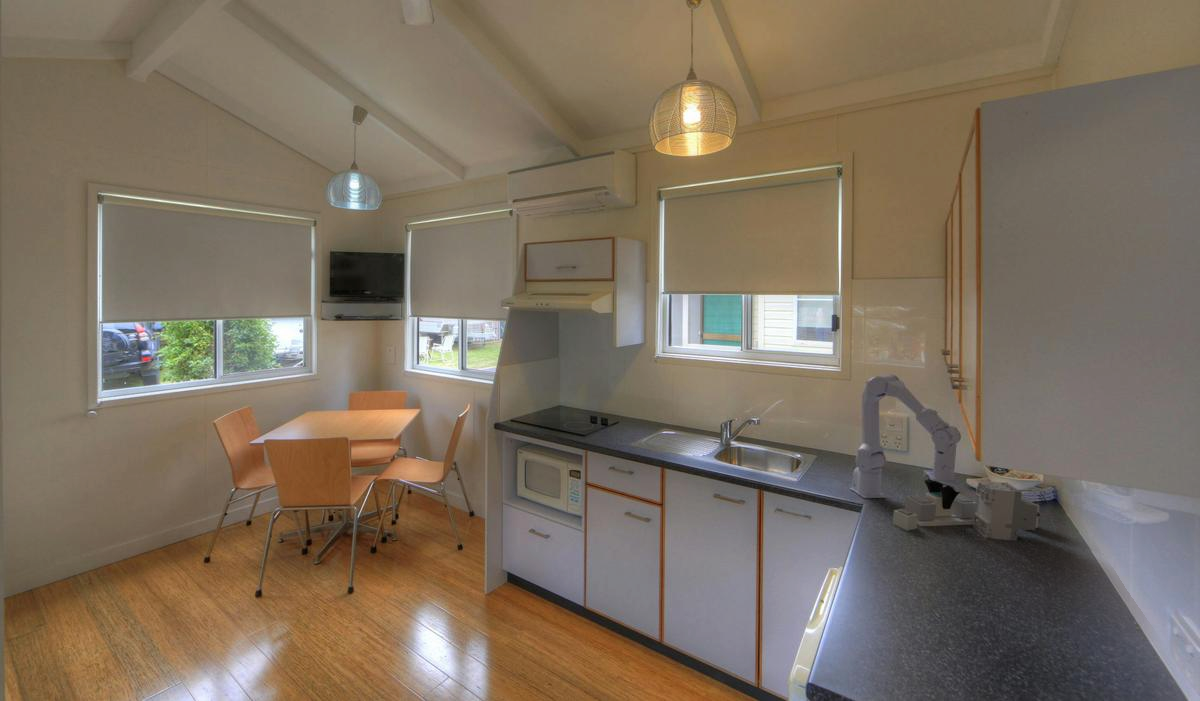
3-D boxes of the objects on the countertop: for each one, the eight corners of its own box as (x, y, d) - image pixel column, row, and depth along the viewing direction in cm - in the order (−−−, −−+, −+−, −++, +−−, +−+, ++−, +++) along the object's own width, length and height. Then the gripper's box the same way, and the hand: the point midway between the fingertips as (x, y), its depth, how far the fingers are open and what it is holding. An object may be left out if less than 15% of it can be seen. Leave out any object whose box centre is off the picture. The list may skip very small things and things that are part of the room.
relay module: (924, 510, 170) (925, 492, 170) (941, 509, 171) (942, 491, 170) (934, 516, 166) (935, 497, 165) (952, 515, 167) (953, 496, 166)
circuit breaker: (1040, 543, 153) (1045, 493, 152) (985, 537, 156) (990, 489, 154) (1025, 531, 160) (1030, 484, 159) (973, 527, 163) (977, 480, 162)
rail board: (901, 514, 172) (902, 494, 171) (957, 512, 174) (958, 492, 174) (920, 526, 163) (922, 505, 163) (979, 524, 165) (981, 503, 165)
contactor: (892, 524, 165) (893, 509, 164) (901, 522, 166) (903, 507, 166) (907, 530, 160) (908, 515, 160) (916, 528, 162) (917, 513, 161)
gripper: (916, 457, 174) (913, 497, 175) (949, 472, 159) (946, 515, 161) (936, 457, 174) (932, 496, 176) (971, 471, 160) (967, 514, 161)
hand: (940, 505), depth 168 cm, fingers closed on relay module, 4 cm apart
